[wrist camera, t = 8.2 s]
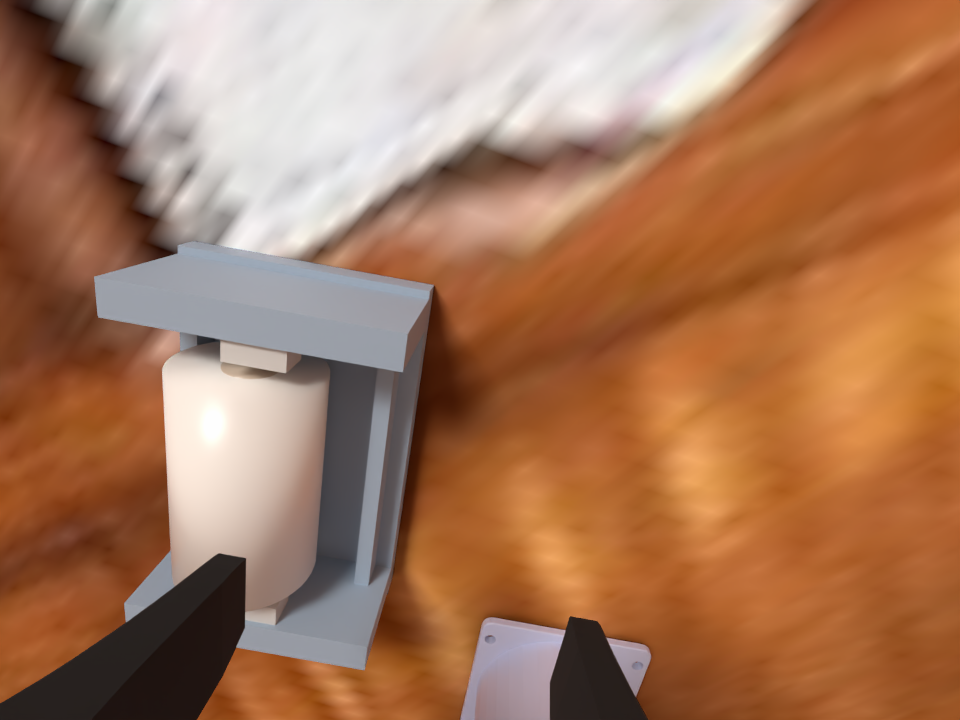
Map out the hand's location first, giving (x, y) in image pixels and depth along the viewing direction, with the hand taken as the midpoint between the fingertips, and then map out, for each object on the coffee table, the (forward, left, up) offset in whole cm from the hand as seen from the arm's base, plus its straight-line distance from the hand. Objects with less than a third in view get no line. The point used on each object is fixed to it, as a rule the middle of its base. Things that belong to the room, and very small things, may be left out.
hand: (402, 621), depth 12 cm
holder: (-2, +6, -10) cm, 12 cm away
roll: (-2, +7, -9) cm, 12 cm away
